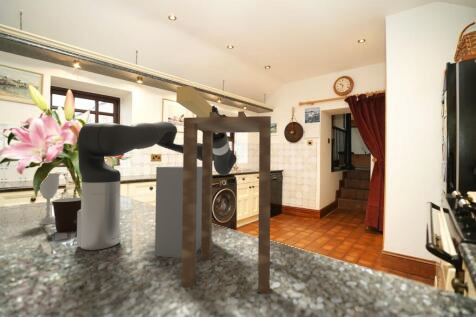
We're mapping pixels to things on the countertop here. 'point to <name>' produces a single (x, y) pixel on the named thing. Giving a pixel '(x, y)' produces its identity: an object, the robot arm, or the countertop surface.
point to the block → (173, 211)
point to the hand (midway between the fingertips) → (206, 108)
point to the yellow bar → (193, 101)
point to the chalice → (49, 195)
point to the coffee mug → (66, 214)
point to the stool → (190, 189)
